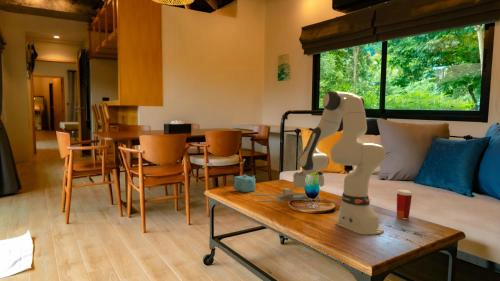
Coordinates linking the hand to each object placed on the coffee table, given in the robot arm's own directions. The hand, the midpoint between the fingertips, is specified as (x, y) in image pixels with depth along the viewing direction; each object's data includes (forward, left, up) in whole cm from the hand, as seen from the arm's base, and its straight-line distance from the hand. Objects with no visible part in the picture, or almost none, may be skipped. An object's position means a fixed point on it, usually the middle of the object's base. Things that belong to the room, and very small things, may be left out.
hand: (307, 193), depth 207 cm
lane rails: (0, +15, -3) cm, 16 cm away
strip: (0, +8, -3) cm, 8 cm away
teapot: (+21, +34, -3) cm, 40 cm away
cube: (0, +14, -2) cm, 14 cm away
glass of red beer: (-46, -31, -3) cm, 55 cm away
